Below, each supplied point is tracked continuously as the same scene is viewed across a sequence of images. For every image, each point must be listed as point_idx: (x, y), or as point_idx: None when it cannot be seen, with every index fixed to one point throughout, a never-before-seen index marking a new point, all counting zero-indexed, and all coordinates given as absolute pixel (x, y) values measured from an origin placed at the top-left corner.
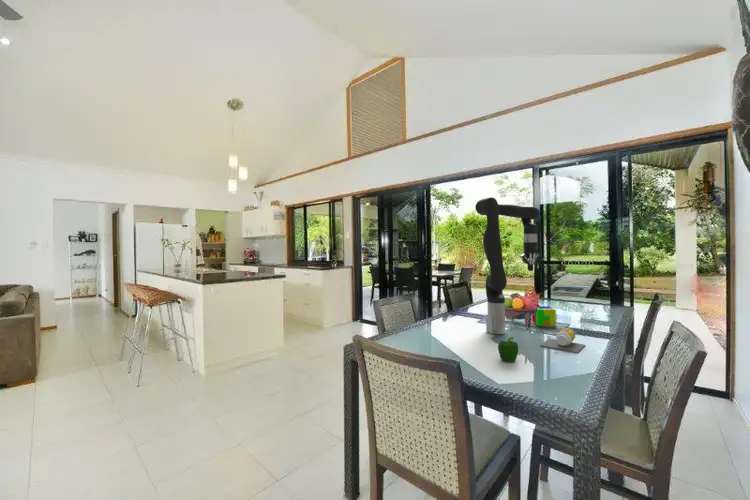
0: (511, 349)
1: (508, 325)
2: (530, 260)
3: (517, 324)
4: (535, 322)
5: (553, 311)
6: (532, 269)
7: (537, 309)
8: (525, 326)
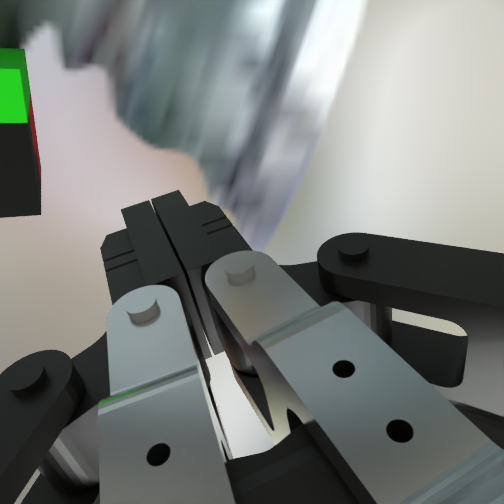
0: None
1: (218, 84)
2: (307, 316)
3: (155, 109)
4: (31, 107)
5: None
6: (132, 217)
7: (20, 87)
8: (117, 53)
